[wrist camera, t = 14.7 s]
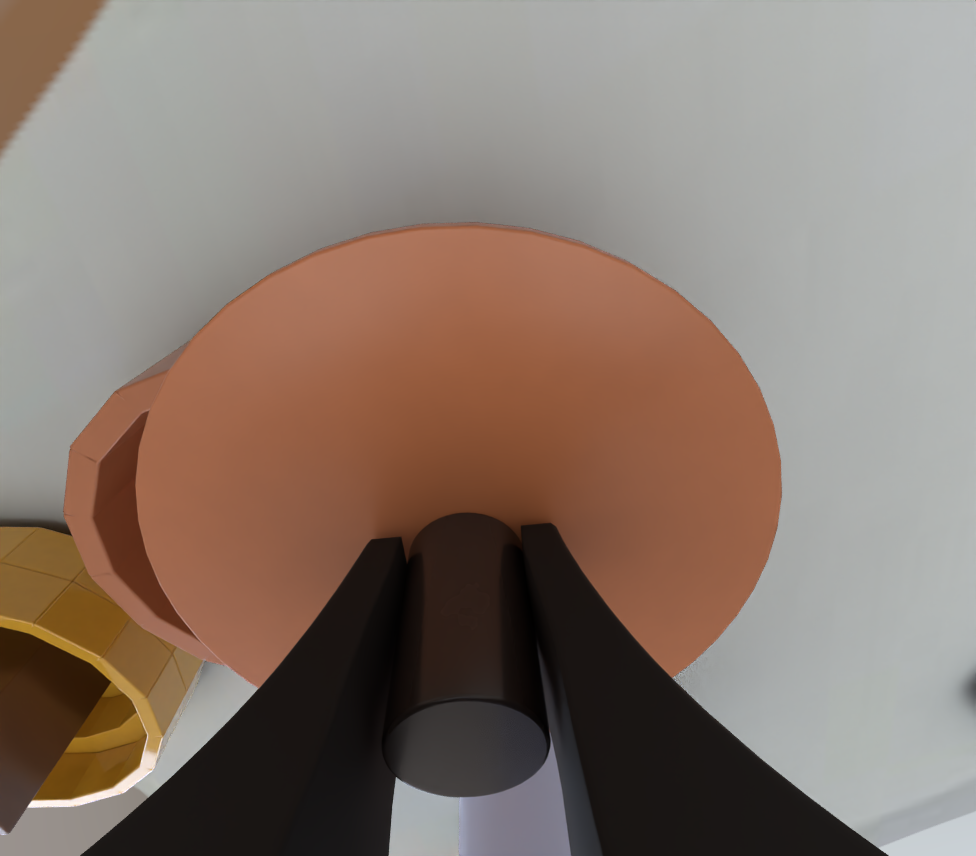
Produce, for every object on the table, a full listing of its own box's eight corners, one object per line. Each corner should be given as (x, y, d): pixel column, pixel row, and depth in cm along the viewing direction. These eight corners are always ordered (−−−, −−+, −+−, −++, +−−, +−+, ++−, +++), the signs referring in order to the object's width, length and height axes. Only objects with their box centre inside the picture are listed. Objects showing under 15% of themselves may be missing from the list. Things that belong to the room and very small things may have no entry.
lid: (886, 391, 11) (1197, 567, 6) (574, 746, 16) (617, 979, 11) (242, 62, 8) (-76, -67, 3) (124, 631, 13) (-59, 885, 8)
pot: (529, 387, 19) (549, 458, 15) (412, 606, 24) (400, 709, 20) (188, 246, 16) (84, 280, 12) (136, 526, 21) (50, 624, 17)
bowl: (234, 570, 23) (184, 660, 19) (185, 731, 28) (137, 828, 24) (-92, 477, 20) (-233, 559, 16) (-80, 674, 25) (-184, 773, 21)
